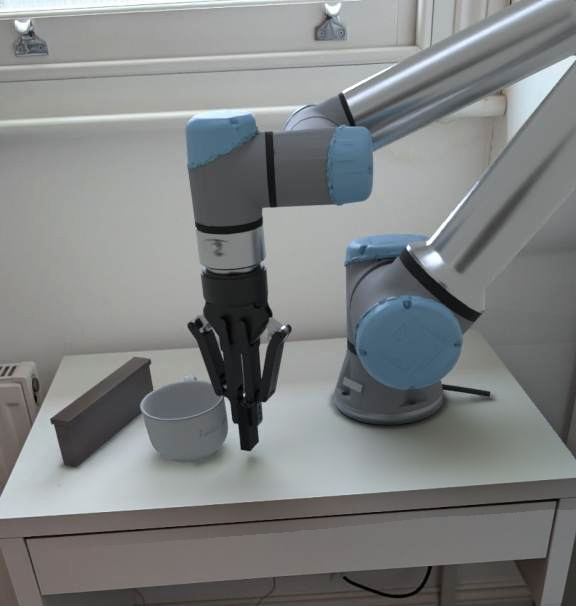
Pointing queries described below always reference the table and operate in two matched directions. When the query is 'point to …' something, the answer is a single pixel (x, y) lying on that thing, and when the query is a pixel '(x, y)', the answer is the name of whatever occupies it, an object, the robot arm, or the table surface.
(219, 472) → the table surface
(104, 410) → the back rail
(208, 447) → the teacup
